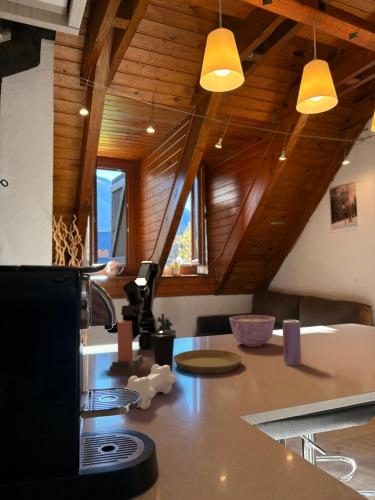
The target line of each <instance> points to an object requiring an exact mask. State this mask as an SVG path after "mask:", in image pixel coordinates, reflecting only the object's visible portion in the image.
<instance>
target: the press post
mask: <svg viewBox="0 0 375 500" xmlns="http://www.w3.org/2000/svg"><path fill="white" fill-rule="evenodd" d="M133 353H134V351H133V341H132V321H124V320H120V321H118V332H117V360H118V361H129V366H130V365H131V363H133V362H134V360H133V359H134V358H133V356H134V355H133Z"/></svg>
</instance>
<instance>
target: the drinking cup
mask: <svg viewBox="0 0 375 500" xmlns="http://www.w3.org/2000/svg"><path fill="white" fill-rule="evenodd" d="M151 336H152V338H153V348H152V349H153V356H154V365H155V364H158V365H159V366H164V365H169V366H170V370H171V372H173V363H174V362H173V360H174V344H175V343H174V342H175V336H176V333H175V332H174V331H171V330H167V329H165V314H164V313H161V329H160V330H159V329H158V331H156V332H155V333H152V334H151Z"/></svg>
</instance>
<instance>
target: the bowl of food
mask: <svg viewBox="0 0 375 500" xmlns="http://www.w3.org/2000/svg"><path fill="white" fill-rule="evenodd" d="M228 319H229V324H230V329H231V332H232V335H233V338H234V339H235V340H236V341H237V342H239V343H240V344H243V346H245V347H253V348H255V347H256V346H257V347H261V345H262V346H263V345H264V344H266V343H267V342H269V341H270V340H271V338H273V337H272V336H273V332H274V327H275V322H276V317H274V316H270V315H261V314H260V315H259V314H244V315H234V316H230V317H229V318H228ZM257 347H256V348H257Z"/></svg>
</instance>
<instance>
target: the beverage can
mask: <svg viewBox="0 0 375 500" xmlns="http://www.w3.org/2000/svg"><path fill="white" fill-rule="evenodd" d="M301 339H302V337H301V323H300V320H298V319H284V320H282V346H283V349H282V350H283V362H284V364H285V365H287V366H291V367H292V366H300V365H301V364H302V344H301V343H302V340H301Z"/></svg>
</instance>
